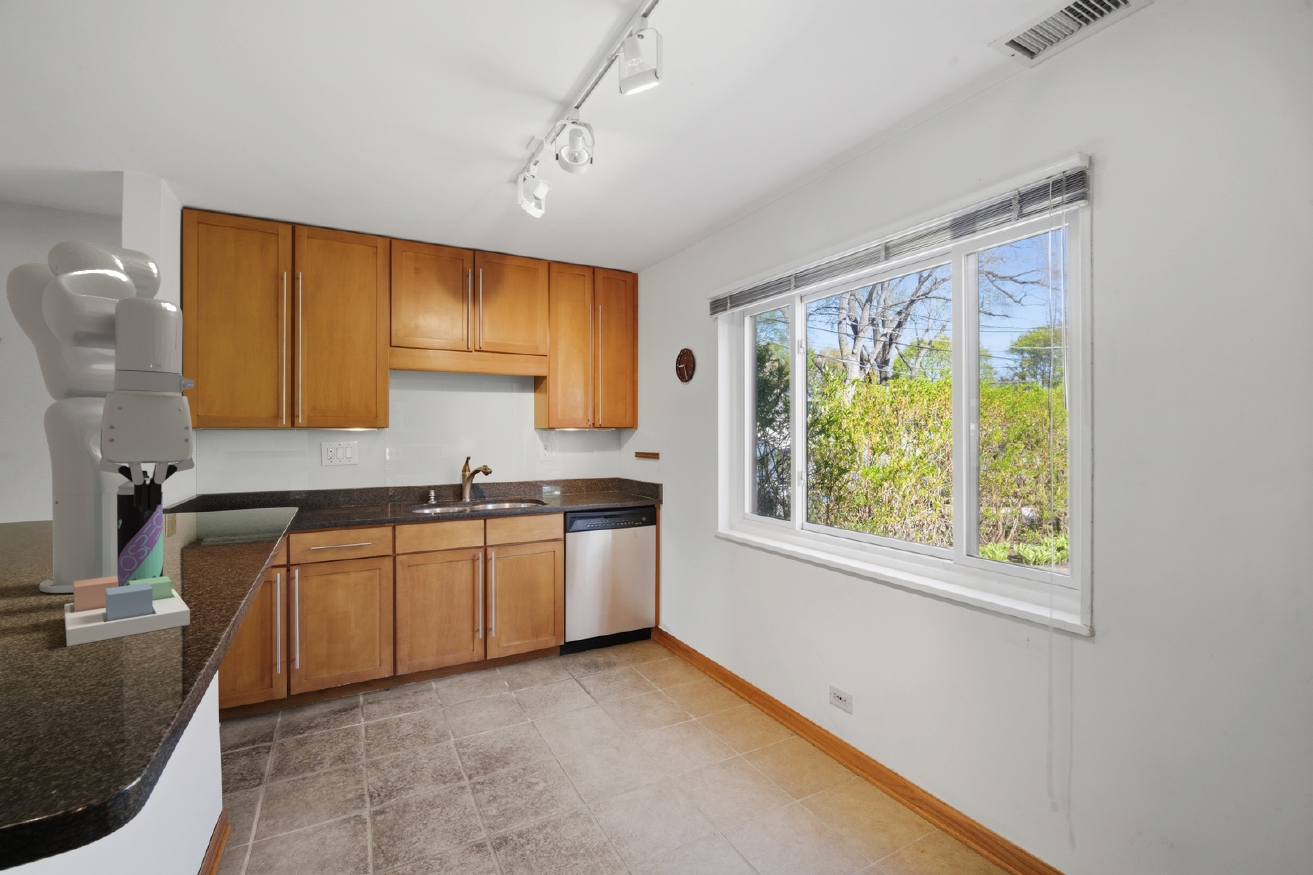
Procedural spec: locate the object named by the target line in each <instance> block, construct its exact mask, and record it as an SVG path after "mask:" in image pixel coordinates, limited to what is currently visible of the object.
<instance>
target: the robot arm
mask: <svg viewBox="0 0 1313 875" xmlns="http://www.w3.org/2000/svg"><path fill="white" fill-rule="evenodd" d="M161 277H162V276H161V271H160V268H159V266H158V265H157V263H156V262H155V260H154V259H153V257H151V256H150V255H148V254H146V253H144V252H143V251H138V250H135V249H130V248H129V249H128V248H123V247H119V246H115V245H114V246H113V245H108V244H104V243H100V242H99V243H98V242H93V241H88V240H80V239H70V240H63V241H61V242H58V243H56V244H54V245H53V246H52V248H50V250H49V252H48V254H47V263H41V262H40V263H37V262H35V263H34V262H33V263H24V264H20V265H17V266H15V267H14V268H12V269H11V270H10V271H9V273H8V274H7V279H6V285H5V286H6V296H7V297H6V298H7V303H8V305H9V309H10V311H11V314H12V316H13V318H14V320H15V321H16V322H17V324H18V325H19V328H20V329H21V330H22V331H23V333H24V334H25V335H26V336H27V338H28V339H29V340H30V342H31V344H32V345H33V347H34V349H35V352H36V353H35V354H36V358H37V360H38V365H39V367H40V371H41V375H42V380H43V382H44V384H45V388H46V390H47V392H48V393H49V396H51V398H52V399H54V402H53V403H51V404H50V405H49V406H48V407H47V408H46V410H45V411H44V414H43V427H44V432H45V437H46V441H47V446H48V450H49V456H50V465H51V486H52V487H51V488H52V489H51V490H52V491H51V492H52V493H51V494H52V503H51V504H52V507H51V508H52V577H50V578H48V579H45V580H43V581H42V582H40V583H39V591H41V592H42V593H48V594H68V593H69V594H70V593H74V581H80V580H88V579H96V578H104V577H112V576H116V577H117V491H118V490H119V489H118V486H121V485H122V484H124V483H126V482H127V481H129V480H130V481H131V482H133V483H134V506H140V511H141V512H146V511H148V510H149V511H151V512H155V511H156V505H161V502H162V489H163V488H162V487H163V485H162V484H164V483H165V481H167V480H168V479H169V478H170V477H171V476H173V475H174V474H175V473H179V472H183V471H186V470H187V471H188V470H192V469H194V468H195V462H194V459H193V452H194V449H193V448H194V446H193V445H194V443H193V440H194V439H193V424H192V416H191V409H190V403H189V399H188V396H185V395H184V396H183V395H182V393H183V392H184V391H185V390H188V389H194V388H195V380H194V379H188V378H187V377H186V378H185V376H183V371H182V370H183V328H184V327H183V321H184V320H183V319H184V318H183V311H182V309H181V307H180V306H179V305H177V304H176V303H173V302H171V301H167V300H163V299H162V300H161V299H158V298H155V297H156V296H157V294H158V292H159V291H160V287H161V282H162V280H161V279H162V278H161ZM102 350H111V351H114V354H109V353H105V352H103V351H102ZM169 463H170V464H169ZM123 464H125V465H123ZM126 464H127V465H126ZM142 464H154V467H153V472H152V475H151V476H152V477H150V478H151V479H150V482H149V483H148V485H147V484H146V480H145V479H144V478H143V473H142V471H143V469H142Z"/></svg>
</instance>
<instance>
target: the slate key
mask: <svg viewBox="0 0 1313 875" xmlns="http://www.w3.org/2000/svg"><path fill="white" fill-rule="evenodd" d="M151 614H153V602H152V587H151V586H150V584H149V583H143V584H136V585H128V586H121V587H113V588H106V617H107V621H115V620H121V619H127V618H133V617H139V616H145V615H151Z"/></svg>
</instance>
